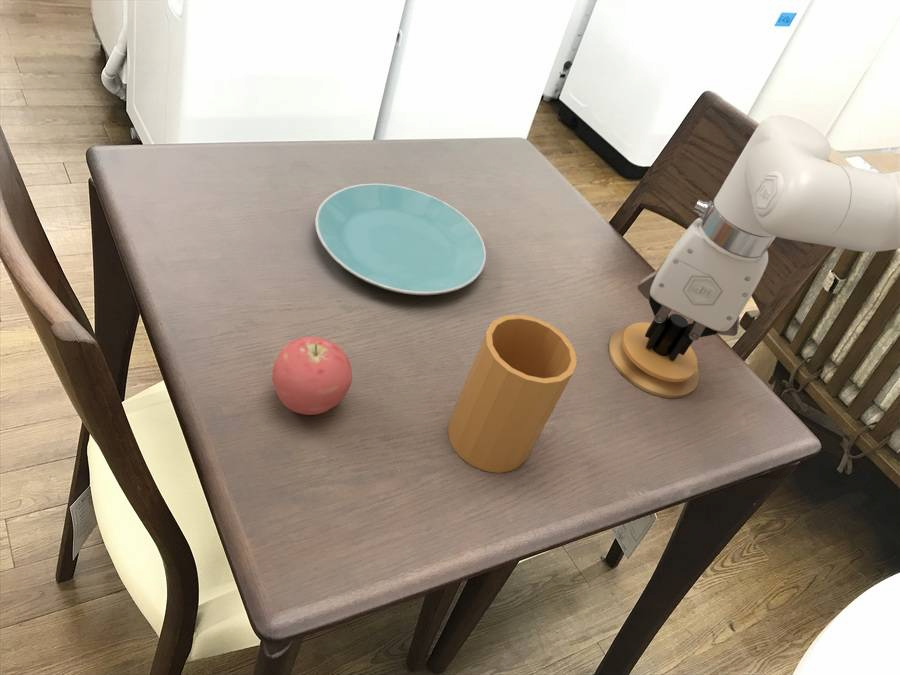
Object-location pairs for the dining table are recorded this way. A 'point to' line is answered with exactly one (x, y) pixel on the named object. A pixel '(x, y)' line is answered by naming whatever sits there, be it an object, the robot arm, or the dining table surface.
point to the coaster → (644, 379)
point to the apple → (311, 375)
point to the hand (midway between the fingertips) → (662, 347)
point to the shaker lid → (660, 350)
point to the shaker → (510, 392)
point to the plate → (400, 239)
